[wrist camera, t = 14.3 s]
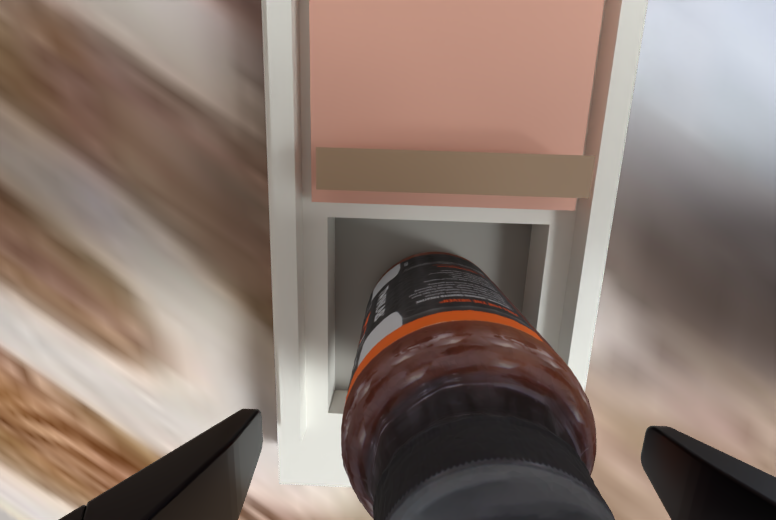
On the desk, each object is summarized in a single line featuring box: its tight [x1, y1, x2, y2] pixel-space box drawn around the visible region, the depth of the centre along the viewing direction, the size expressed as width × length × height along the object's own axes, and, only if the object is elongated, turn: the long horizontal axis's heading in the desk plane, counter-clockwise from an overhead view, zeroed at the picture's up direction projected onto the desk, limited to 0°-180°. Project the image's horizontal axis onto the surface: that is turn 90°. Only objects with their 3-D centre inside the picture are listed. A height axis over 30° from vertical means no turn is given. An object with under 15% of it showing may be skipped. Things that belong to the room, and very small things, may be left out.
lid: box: [309, 0, 604, 211], centre depth 11 cm, size 9×9×3 cm
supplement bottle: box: [341, 252, 615, 520], centre depth 11 cm, size 6×6×11 cm
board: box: [261, 0, 648, 487], centre depth 15 cm, size 13×24×3 cm, turn 178°
